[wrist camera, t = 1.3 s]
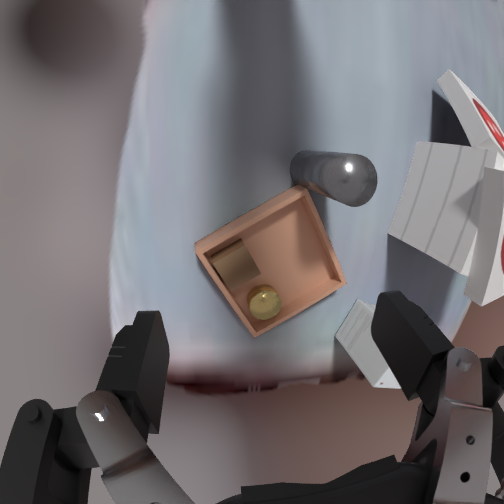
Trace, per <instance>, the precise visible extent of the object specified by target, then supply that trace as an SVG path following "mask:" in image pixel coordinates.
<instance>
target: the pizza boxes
mask: <svg viewBox="0 0 504 504" xmlns="http://www.w3.org/2000/svg"><path fill="white" fill-rule="evenodd" d="M437 82H438V83H439V85H440V87H441V88H442V90H443V92H444V93H445V95H446V97H447V99H448V100H449V102H450V104H451V106H452V108H453V109H454V111H455V113H456V115H457V117H458V119H459V121H460V123H461V125H462V127H463V129H464V131H465V133H466V135H467V138H468V140H469V142H470V144H471V146H472V147H469V146H462V145H454V144H445V143H435V142H425V141H417V144H416V148H415V152H414V155H413V159H412V162H411V166H410V169H409V172H408V176H407V179H406V182H405V185H404V188H403V191H402V194H401V197H400V200H399V203H398V206H397V209H396V212H395V215H394V217H393V220H392V223H391V226H390V228H389V231H388V234H390V235H392V236H394V237H396V238H398V239H400V240H401V241H403V242H405V243H407V244H409V245H411V246H413V247H414V248H416V249H418V250H420V251H422V252H424V253H425V254H427V255H429V256H431V257H433V258H434V259H436V260H438V261H440V262H441V263H443V264H445V265H447V266H448V267H450V268H452V269H453V270H455V271H457V272H458V273H460V274H462V275H465V276H468V279H467V283H466V287H465V290H464V295H465V296H467V297H468V298H470V299H471V300H473V301H474V302H475V303H477V304H478V305H480V306H483V305H485V304H487V303H489V302H491V301H493V300H495V299H497V298H499V297H501V296H503V295H504V134H503V132H502V130H501V128H500V126H499V125H498V123H497V121H496V119H495V118H494V116H493V115H492V114H491V113H490V112H489V110H488V109H487V108H486V107H485V106H484V105H483V103H482V102H481V101H480V100H479V99H478V98H477V97H476V96H475V95H474V93H473V92H472V91H471V90H470V89H469V88H468V87H467V86H466V85H465V84H464V83H463V82H462V81H461V80H460V79H459V78H458V77H457V76H456V75H455V74H454V73H453V72H452V71H451V70H450V69H448V70H447V71H446V72H445V73H444V74H443V75H442V76H441V77H440V78H439V79H438V80H437Z"/></svg>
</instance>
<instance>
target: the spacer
mask: <svg viewBox="0 0 504 504" xmlns="http://www.w3.org/2000/svg"><path fill="white" fill-rule="evenodd" d="M290 173H291V176H292V179H293V180H294V182H295V183H296V184H298V185H300V186H303V187H305V188H307V189H309V190H311V191H314V192H316V193H319V194H321V195H324V196H326V197H329V198H331V199H334V200H336V201H338V202H341V203H343V204H345V205H348V206H352V207H357V206H361V205H363V204H365V203H367V202H368V201H369V200H370V199H371V198H372V196H373V194H374V193H375V190H376V187H377V173H376V170H375V167H374V165H373V164H372V162H371V161H370V160H369V159H368V158H366V157H364V156H362V155H358V154H348V153H337V152H325V151H310V150H306V151H302V152H300V153H298V154H297V155H296V156H295V157H294V158H293V160H292V162H291V165H290Z"/></svg>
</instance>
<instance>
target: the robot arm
mask: <svg viewBox="0 0 504 504" xmlns="http://www.w3.org/2000/svg"><path fill="white" fill-rule="evenodd" d="M371 336H372V339H373V341H374V342H375V344H376V346H377V347H378V349H379V351H380V352H381V354H382V356H383V357H384V359H385V361H386V363H387V364H388V366H389V368H390V369H391V371H392V373H393V375H394V376H395V378H396V380H397V382H398V383H399V385H400V387H401V389H402V390H403V392H404V394H405V396H406V398H407V399H408V401H410V400H413V399H415V398H418V397H420V399H421V400H422V401H421V403H420V404H419V407H418V412H417V416H416V421H415V425H414V429H413V433H412V437H411V441H410V444H409V447H408V449H407V452H406V453H405V455H404V457H403V459H402V461H401V462H397V461H396V458H395V456H394V455H392V456H389V457H386V458H383V459H380V460H377V461H374V462H371V463H368V464H365V465H361V466H359V467H357V468H356V469H354V470H352V471H350V472H348V473H346V474H344V475H342V476H341V477H339V478H337V479H335V480H332V481H330V482H328V483H325V484H300V483H274V484H265V485H255V486H241V494H239V495H235V496H232V497H230V498H227V499H225V500H223V501H220V502H219V503H217V504H504V412H503V410H502V408H501V407H500V405H499V403H498V400H499V399H500V398H501V396H502V395H503V394H504V346H500V347H498V348H497V349H496V351H495V353H494V355H493V356H492V358H478V356H477V355H476V354H475V353H474V352H472V351H471V350H469V349H467V348H462V347H458V348H455V347H454V346H453V345H452V344H451V342H450V341H449V340H448V339H447V338H446V336H445V335H444V334H443V333H442V332H441V330H440V329H439V328H438V327H437V326H436V325H434V322H433V321H432V320H431V319H430V318H428V315H427V314H426V313H425V312H424V311H423V309H422V308H421V307H419V306H417V305H416V304H414V303H413V302H411V301H408V299H407V298H406V297H405V296H404V295H403V294H402V293H401V292H400V291H391V292H383V293H380V294H379V296H378V299H377V303H376V308H375V312H374V315H373V319H372V323H371ZM169 355H170V354H169V344H168V340H167V336H166V332H165V328H164V325H163V321H162V317H161V313H160V312H159V311H138V312H137V314H136V317H135V320H134V322H133V325H125V326H124V327H123V328H122V329H121V330H120V331H119V332H118V333H117V335H116V337H115V339H114V342H113V344H112V348H111V350H110V352H109V357H107V360H106V363H105V365H104V368H103V371H102V374H101V376H100V379H99V382H98V385H97V388H96V390H95V391H93V392H90V393H88V394H87V395H85V396H84V397H83V398H82V399H81V400H80V401H79V403H78V405H77V406H76V407H70V408H63V409H56V410H53V409H52V408H51V406H50V405H49V404H48V403H47V402H46V401H44V400H41V399H33V400H30V401H28V402H26V403H25V404H24V405H23V406H22V407H21V408H20V410H19V412H18V414H17V417H16V419H15V422H14V425H13V428H12V430H11V433H10V436H9V440H8V443H7V446H6V449H5V452H4V456H3V459H2V463H1V467H0V504H87V503H88V492H89V484H90V476H91V469H92V468H95V467H100V468H101V469H102V472H103V475H101V478H102V481H103V483H104V485H105V487H106V489H107V491H108V492H109V494H110V496H111V497H112V499H113V501H114V502H115V504H195V503H194V502H193V501H192V500H191V499H190V497H189V496H188V495H187V494H186V493H185V492H184V491H183V489H182V488H181V487H180V486H179V485H178V484H177V482H176V481H175V480H174V479H173V478H172V476H171V475H170V474H169V473H168V471H167V470H166V469H165V468H164V466H163V465H162V464H161V462H160V461H159V460H158V459H157V457H156V456H155V454H154V453H153V452H152V450H151V449H150V448H149V446H148V445H147V439H148V433H151V434H159V428H160V418H161V412H162V404H163V397H164V390H165V383H166V377H167V370H168V364H169ZM490 462H491V464H492V466H493V468H494V470H495V473H496V475H497V477H498V480H499V482H500V484H501V487H500V488H499V489H498V490H497V491H496V493H495V496H493V495H490V494H488V493H486V489H487V483H488V477H489V469H490Z"/></svg>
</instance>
